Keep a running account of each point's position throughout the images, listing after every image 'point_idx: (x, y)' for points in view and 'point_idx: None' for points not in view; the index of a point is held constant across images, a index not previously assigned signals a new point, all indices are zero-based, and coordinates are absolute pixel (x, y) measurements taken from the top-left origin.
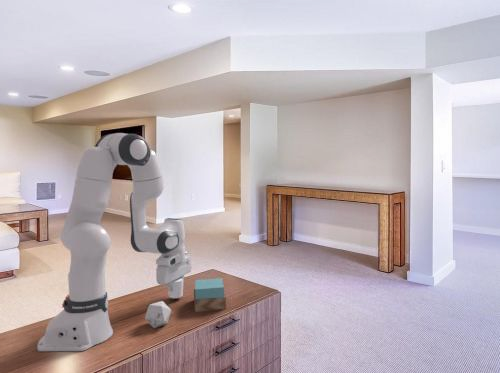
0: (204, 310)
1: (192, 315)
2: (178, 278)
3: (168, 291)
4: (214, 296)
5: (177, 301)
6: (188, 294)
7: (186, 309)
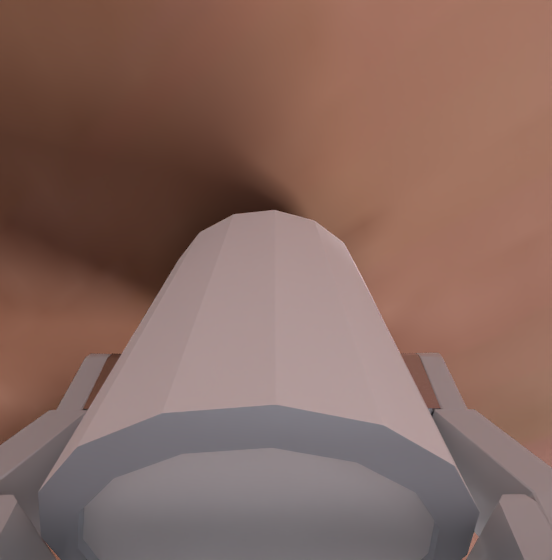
0: None
1: None
2: (379, 552)
3: (168, 284)
4: None
5: None
6: (448, 321)
7: None
